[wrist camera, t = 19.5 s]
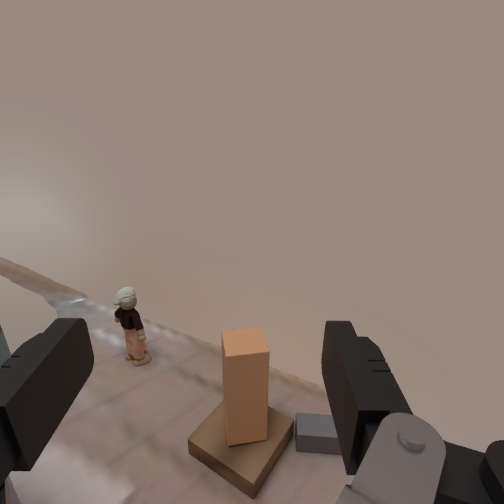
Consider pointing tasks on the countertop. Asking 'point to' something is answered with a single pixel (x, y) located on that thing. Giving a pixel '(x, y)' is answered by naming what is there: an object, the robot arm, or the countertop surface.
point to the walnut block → (240, 450)
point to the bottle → (3, 348)
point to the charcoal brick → (316, 434)
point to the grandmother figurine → (131, 326)
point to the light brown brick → (245, 385)
